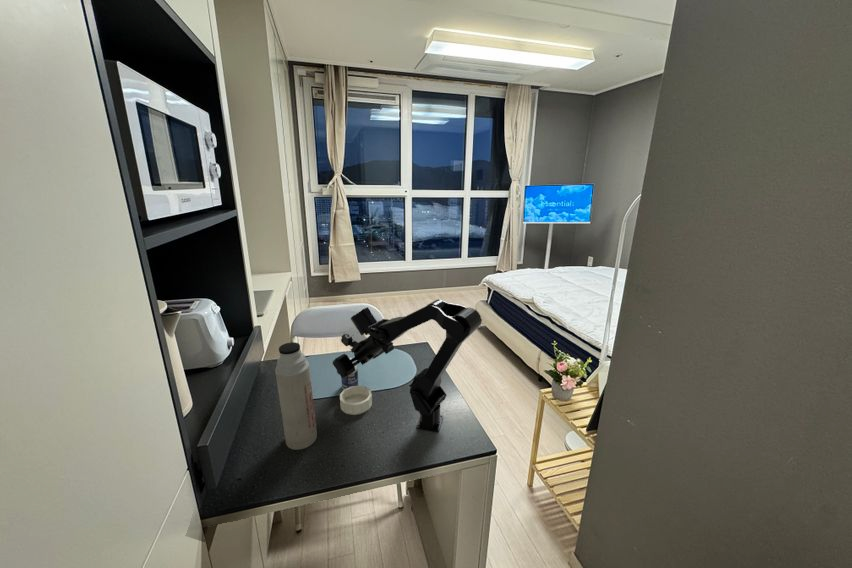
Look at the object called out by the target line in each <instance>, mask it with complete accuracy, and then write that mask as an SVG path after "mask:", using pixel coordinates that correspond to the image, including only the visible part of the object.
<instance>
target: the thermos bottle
mask: <svg viewBox="0 0 852 568" xmlns="http://www.w3.org/2000/svg"><path fill="white" fill-rule="evenodd" d="M278 352H279V357H278V358H277V361H276V367H275V369H274V371H275V372H274V373H275V377H276V385H277V391H278V398H279V405H280V411H281V418H282V425H283V432H284V433H283V434H284V439H285V445H286V446H287V447H288V448H289V449H290V450H297V451H298V450H304V449H306V448H308V447H310V446H311V445H312V444H314V442H316V440H317V438H318V432H317V424H316V413H315V406H314V405H315V404H314V395H313V388H312V378H311V369H310V363H309V361H308V360H307V358H306V355H305V354H304V353H303V352H302V350H301V345H300V343H298V342H293V341H292V342H286V343H283V344H281V345H280V346H279V347H278Z"/></svg>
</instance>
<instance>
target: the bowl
mask: <svg viewBox="0 0 852 568" xmlns="http://www.w3.org/2000/svg"><path fill="white" fill-rule="evenodd" d="M339 400H340V401H339V404H340V410H341V411H342V412H343V413H345V414H346V415H350V416H352V415H353V416H356V415H361V414H363V413H365V412H368V411H369V410H370V409H371V408H372V405H373V395H372V391H371V389H370V388H369V387H367V386H364V385H358V386H351V387H349V388H347V389H345V390H344V389H343V390H342V392H341V393H340V394H339Z"/></svg>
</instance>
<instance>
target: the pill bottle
mask: <svg viewBox="0 0 852 568" xmlns="http://www.w3.org/2000/svg"><path fill="white" fill-rule="evenodd" d="M349 359H350V360H351V359H352V357H349ZM354 362H356V361H354ZM354 362H353V363H354ZM340 378H341V388H342V389H343V390H345V389H347V388H349V387H351V386H359V372H358V366H357V365H356V366H355V371H354V372H353V373H352V374H350V375H349V376H347V377H346V378H342V377H341V376H340Z"/></svg>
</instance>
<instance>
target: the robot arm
mask: <svg viewBox="0 0 852 568" xmlns="http://www.w3.org/2000/svg"><path fill="white" fill-rule="evenodd" d="M350 320H351V322H352V323H353V325H354V326H355V327H352V328H350V329H348V330H346V331H345V333H343V334H342V335H341V338H340V341H341V343H342V344H343V345H344V346H345V347H351V348H350V351H351V353H352V354H353V356H354V357H353V358H352V357H351V358H352V359H351V360H350V359H349V358H350V357H349V356H348V354H346V353H343V354H341V355H339V356H337V357H336V358H335V359H333V360H332V363H331V364H332V365H333V367H334V368H335V369H336V373H337V375H339V376H340V378H341V377H342V378H346V377H347V376H349V375H350V374H352V373H353V372H354V371H355V366H357V365H359V364H361V365H362V366H363V365H365V364H367V363H368V362H369V361H371V360H374V359H376V358H378V357H379V356H381V355H382V354H384V353H385V355H387V354H388V353H390V352H392V351H393V350H394V349H395V346H394V341H395V340H398V338H400V337H401V336H403V335H404V334H405V333H407V332H408V331H409V330H411V329H414V328H416V327H418V326H420V325H422V324H424V323H427V322H429V321H431V320H433V321H435V322H436V323H437V325H438V326H439V327H440V328H441V329H443V330H444V331H445V339H444V340H443V342H442V344H441V345H440V347H439V349H438V351H437V352H436V353H435V356H434V357H433V359H432V361H431V363H430V364H429V366H428V367H424V368H423V369H422V370H421V371H419V372H418V373H417V374H416V375H415V376H414V377H413V379H412V382H411V383H410V384H409V385H408V386H409V394H410V397H411V401H412V404H413V407H414V410H415V411H416V412H418V414H419V419H418V421H417V424H416V428H417V429H420V430H425V431H430V432H434V433H439V432H440V429H441V426H442V422H443V420H444V415H441V403H443V401H445V399H446V398H447V393H446V392H445V390H444V389H443V388H442V386H441V384H442V376H443V375H444V373H445V371H446V370H447V368H448V367H449V365H450V364H451V362H452V360H453V359H454V357H455V355H456V354H457V352H458V351H459V349H460V347H461V346H462V344H463V343H464V342H466V340H467V339H468V338H469V337H470V336H471V335H473V333H474V332H475V331H476V330H477V329H478V328H479V327H480V326H481V324H482V322H483V321H482V317H481V315H480V313H479V312H478V311H477V309H476V308H475V309H474V308H473V307H466V306H464V305H462V304H458V303H452V302H448V301H445V300H443V299H435V300H434V301H431V302H430V303H428V304H427V305H425V306H423V307H422V308H420V309H417V310H415V311H412V312H411V313H408V314H407V315H406V316H405V315H404V316H396V317H393V318H390V319H387V318H382V319H380V320H377V319H376V317H375V316H374V315H373V313H372V312H371V310H370V308H369V307H364V308H363V309H362V310H360V311H358V312H357V313H356V314H354V315H352V316H351V317H350ZM368 335H369V336H368ZM366 336H367V337H366ZM354 361H355V362H354ZM353 362H354V363H353Z"/></svg>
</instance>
